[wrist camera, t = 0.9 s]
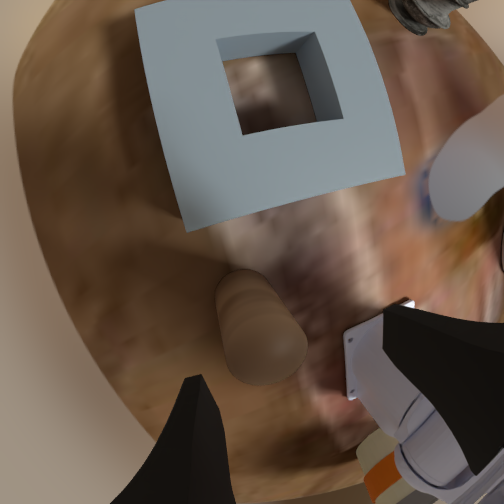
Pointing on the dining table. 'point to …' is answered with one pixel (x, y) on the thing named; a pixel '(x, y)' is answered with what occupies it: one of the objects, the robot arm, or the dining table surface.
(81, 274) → the dining table surface
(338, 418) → the dining table surface
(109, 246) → the dining table surface
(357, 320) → the dining table surface
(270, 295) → the walnut peg
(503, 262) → the cylinder vase
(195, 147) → the socket block
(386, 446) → the reusable coffee cup
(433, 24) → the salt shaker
